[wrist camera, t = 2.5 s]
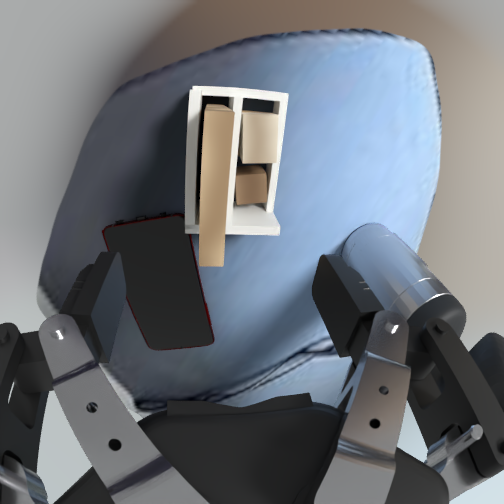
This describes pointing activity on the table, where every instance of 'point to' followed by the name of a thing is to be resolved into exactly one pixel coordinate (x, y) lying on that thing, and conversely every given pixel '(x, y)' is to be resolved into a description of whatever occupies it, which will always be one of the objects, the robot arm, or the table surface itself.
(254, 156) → the offcut maple
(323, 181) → the table surface
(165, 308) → the smartphone
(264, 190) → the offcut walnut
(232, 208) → the rack
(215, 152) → the tan rectangular block
